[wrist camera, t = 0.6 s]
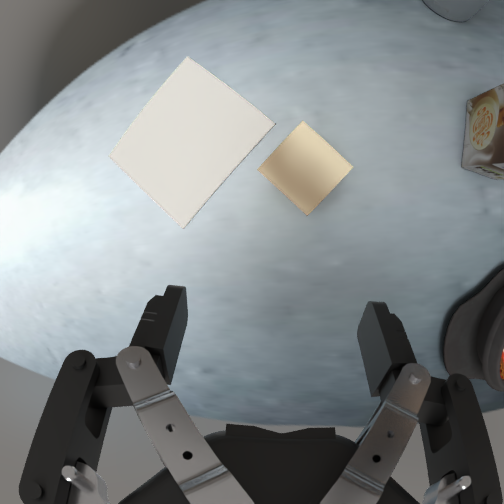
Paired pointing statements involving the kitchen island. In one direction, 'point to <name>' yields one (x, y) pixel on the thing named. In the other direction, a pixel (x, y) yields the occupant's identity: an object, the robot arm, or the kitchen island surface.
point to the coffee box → (485, 134)
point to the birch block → (305, 168)
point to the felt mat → (189, 140)
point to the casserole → (478, 336)
